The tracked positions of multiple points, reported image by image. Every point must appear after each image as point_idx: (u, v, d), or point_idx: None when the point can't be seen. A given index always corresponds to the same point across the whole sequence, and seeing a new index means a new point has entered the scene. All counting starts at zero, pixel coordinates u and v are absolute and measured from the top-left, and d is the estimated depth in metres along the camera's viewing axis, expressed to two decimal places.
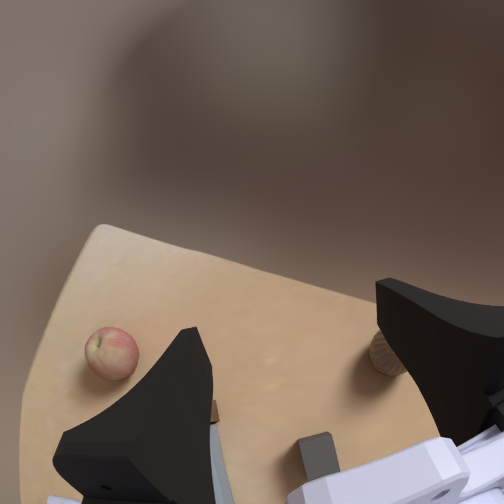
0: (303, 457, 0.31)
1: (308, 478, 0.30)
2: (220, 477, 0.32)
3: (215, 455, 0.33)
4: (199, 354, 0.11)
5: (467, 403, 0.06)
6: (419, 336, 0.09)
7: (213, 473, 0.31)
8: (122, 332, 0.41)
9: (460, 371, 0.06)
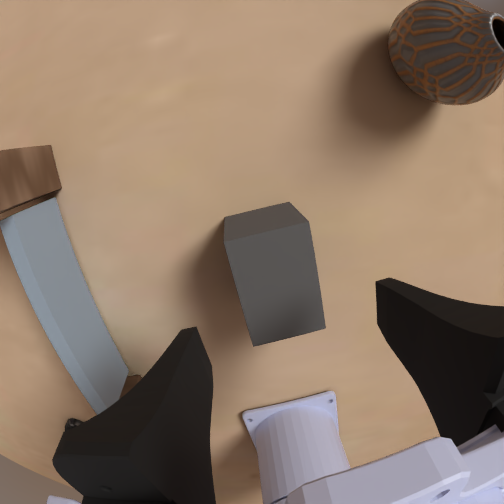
0: (237, 280, 0.15)
1: (251, 330, 0.16)
2: (72, 324, 0.17)
3: (50, 277, 0.16)
4: (199, 354, 0.11)
5: (467, 403, 0.06)
6: (418, 337, 0.09)
7: (51, 323, 0.15)
8: None
9: (460, 371, 0.06)
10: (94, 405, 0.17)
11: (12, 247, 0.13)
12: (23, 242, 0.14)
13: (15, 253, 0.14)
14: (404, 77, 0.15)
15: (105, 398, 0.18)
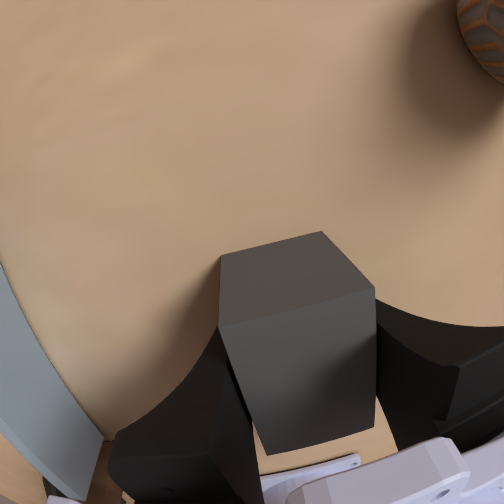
0: (243, 382, 0.08)
1: (265, 440, 0.09)
2: (16, 401, 0.10)
3: None
4: None
5: (418, 427, 0.06)
6: None
7: None
8: None
9: (411, 393, 0.06)
10: (61, 489, 0.10)
11: None
12: None
13: None
14: (486, 53, 0.08)
15: (73, 483, 0.11)
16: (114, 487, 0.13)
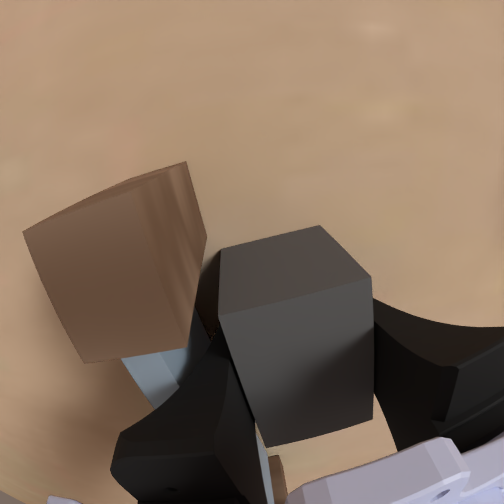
0: (243, 372, 0.09)
1: (264, 431, 0.10)
2: None
3: None
4: None
5: (418, 427, 0.06)
6: (376, 352, 0.09)
7: None
8: None
9: (410, 394, 0.06)
10: None
11: (146, 378, 0.08)
12: (172, 369, 0.08)
13: (153, 386, 0.08)
14: None
15: None
16: None
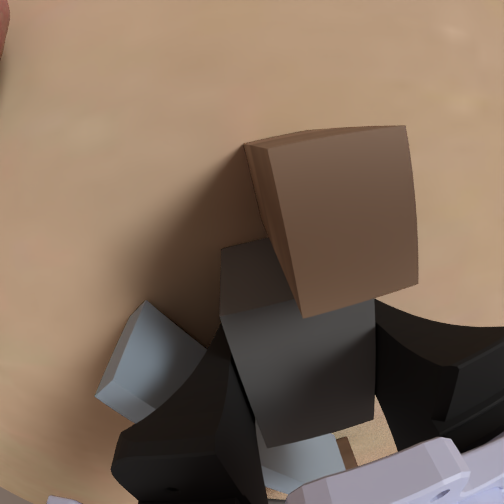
0: (244, 373, 0.08)
1: (265, 432, 0.09)
2: None
3: None
4: None
5: (418, 427, 0.06)
6: (376, 352, 0.09)
7: None
8: None
9: (410, 394, 0.06)
10: None
11: (141, 419, 0.09)
12: (156, 405, 0.09)
13: None
14: None
15: None
16: None
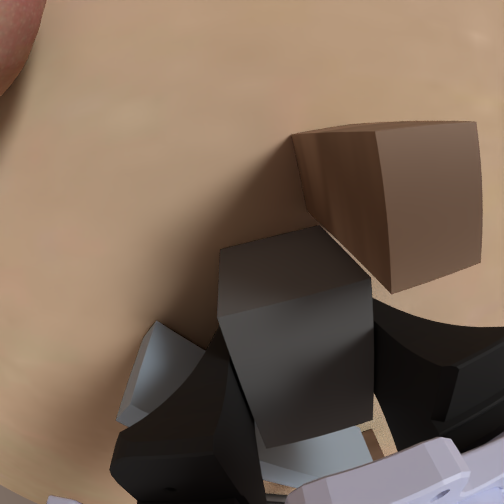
0: (242, 373, 0.08)
1: (264, 432, 0.09)
2: (294, 447, 0.12)
3: None
4: None
5: (418, 427, 0.06)
6: (375, 352, 0.09)
7: (277, 471, 0.10)
8: None
9: (410, 394, 0.06)
10: None
11: None
12: None
13: None
14: None
15: None
16: None
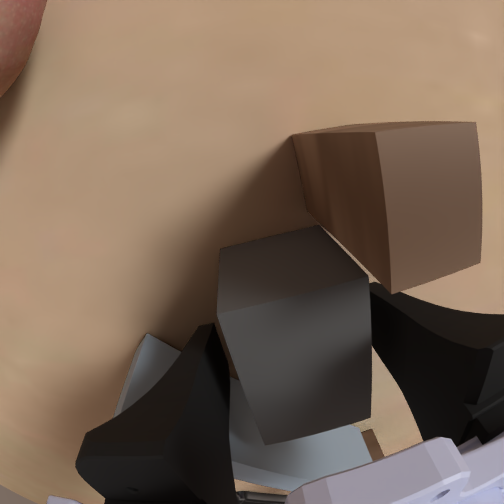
0: (241, 370, 0.09)
1: (263, 429, 0.10)
2: (287, 452, 0.12)
3: None
4: (217, 351, 0.11)
5: (448, 413, 0.06)
6: (402, 343, 0.09)
7: (269, 476, 0.10)
8: None
9: (441, 380, 0.06)
10: None
11: None
12: None
13: None
14: None
15: None
16: None
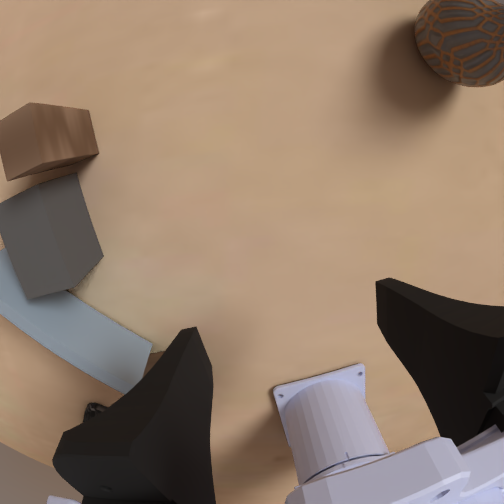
0: (4, 238, 0.14)
1: (21, 283, 0.15)
2: (56, 323, 0.17)
3: (21, 297, 0.17)
4: (199, 354, 0.11)
5: (467, 403, 0.06)
6: (418, 337, 0.09)
7: (36, 330, 0.16)
8: None
9: (460, 371, 0.06)
10: (118, 387, 0.18)
11: None
12: None
13: None
14: (430, 60, 0.15)
15: (122, 374, 0.18)
16: None
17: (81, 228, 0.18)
